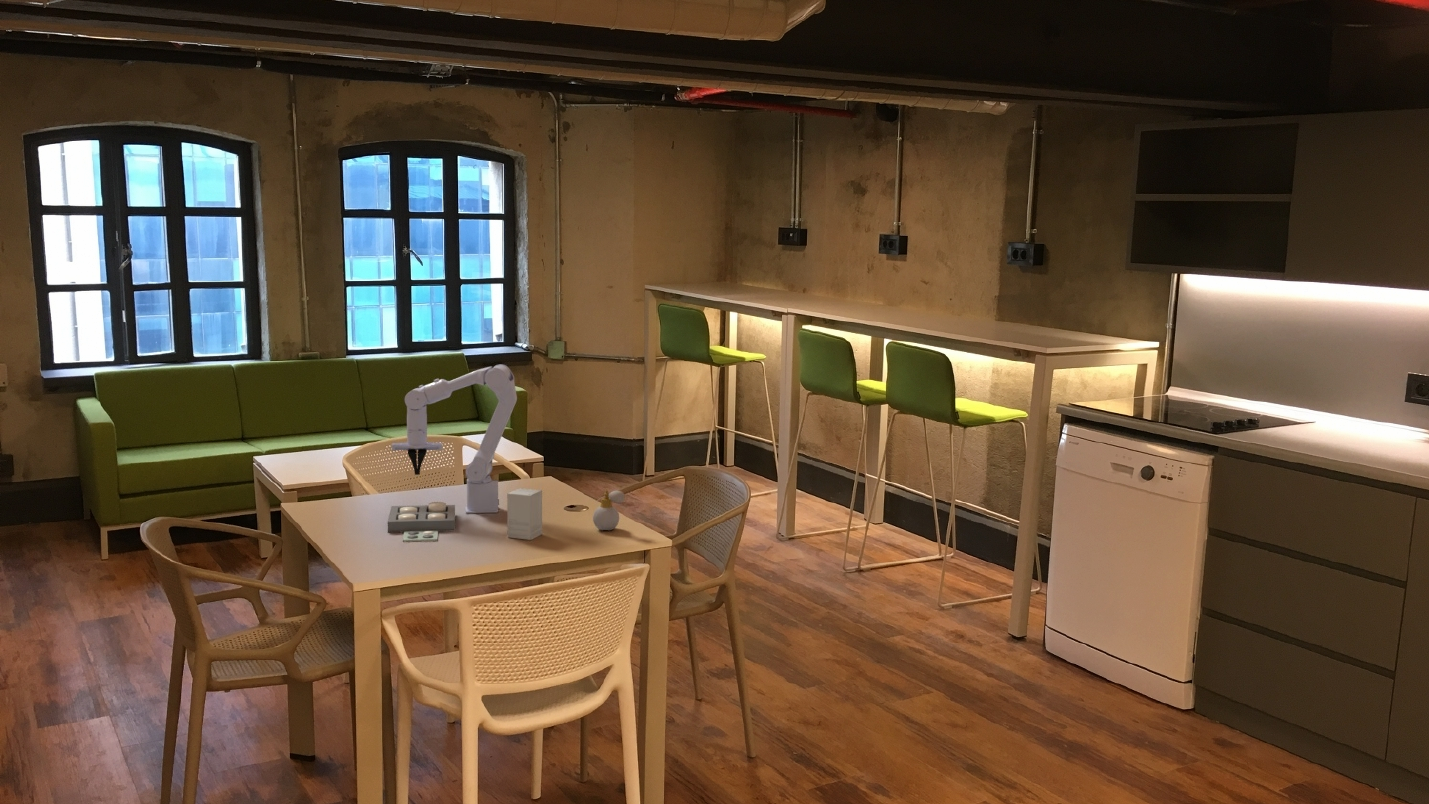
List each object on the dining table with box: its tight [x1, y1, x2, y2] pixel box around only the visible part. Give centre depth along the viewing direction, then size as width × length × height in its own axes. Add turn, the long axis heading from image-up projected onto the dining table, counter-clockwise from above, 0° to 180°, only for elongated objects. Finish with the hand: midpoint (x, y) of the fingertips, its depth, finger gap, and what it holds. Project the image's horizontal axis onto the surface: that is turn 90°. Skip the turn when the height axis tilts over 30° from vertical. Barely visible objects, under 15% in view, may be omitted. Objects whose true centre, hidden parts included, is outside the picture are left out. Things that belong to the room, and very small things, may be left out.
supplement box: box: [506, 487, 543, 541], centre depth 323 cm, size 7×7×13 cm
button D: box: [428, 501, 447, 512], centre depth 338 cm, size 5×5×3 cm
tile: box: [402, 530, 439, 543], centre depth 320 cm, size 9×9×1 cm
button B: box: [428, 513, 445, 519], centre depth 331 cm, size 5×5×3 cm
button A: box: [398, 514, 416, 520], centre depth 329 cm, size 5×5×3 cm
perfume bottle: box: [592, 489, 626, 531], centre depth 332 cm, size 8×10×12 cm
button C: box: [400, 507, 417, 513], centre depth 337 cm, size 5×5×3 cm
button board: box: [387, 504, 456, 533], centre depth 334 cm, size 18×18×3 cm
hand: (417, 474), depth 349 cm, fingers closed
